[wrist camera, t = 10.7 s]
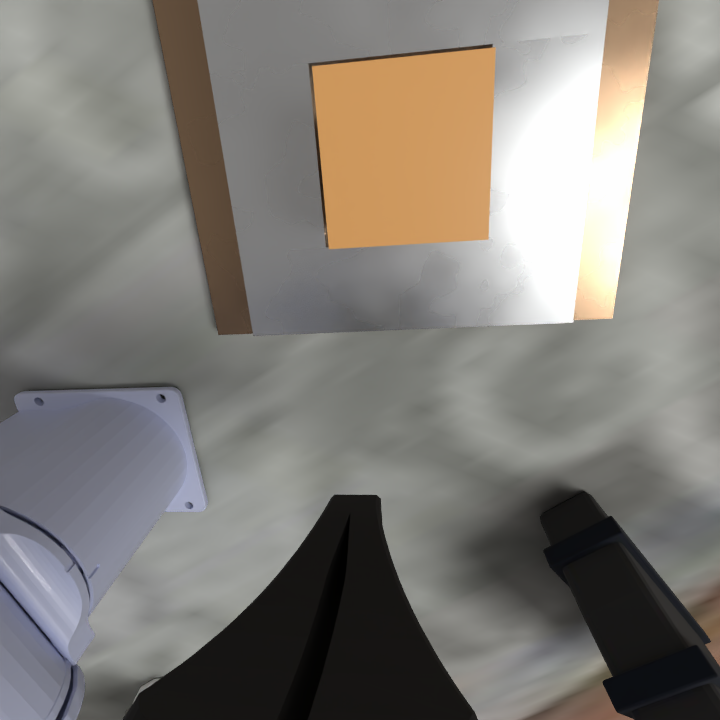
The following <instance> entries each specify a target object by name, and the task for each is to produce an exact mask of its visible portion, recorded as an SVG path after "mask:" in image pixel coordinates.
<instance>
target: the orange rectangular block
mask: <svg viewBox="0 0 720 720" xmlns="http://www.w3.org/2000/svg"><path fill="white" fill-rule="evenodd" d="M495 54H496V47H494V48H485V49H475V50H465V51H456V52H446V53H436V54H427V55H417V56H407V57H398V58H388V59H378V60H369V61H359V62H349V63H340V64H330V65H320V66H312V72H313V82H314V93H315V104H316V115H317V126H318V136H319V147H320V158H321V169H322V180H323V190H324V201H325V212H326V223H327V234H328V244H329V249H341V248H358V247H375V246H391V245H408V244H424V243H441V242H458V241H474V240H489V215H490V188H491V161H492V134H493V107H494V81H495Z"/></svg>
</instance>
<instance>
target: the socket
mask: <svg viewBox="0 0 720 720" xmlns="http://www.w3.org/2000/svg"><path fill="white" fill-rule="evenodd" d="M658 2H659V0H153V5H154V10H155V16H156V21H157V26H158V31H159V36H160V41H161V46H162V51H163V56H164V61H165V66H166V71H167V76H168V81H169V87H170V92H171V97H172V102H173V107H174V112H175V117H176V122H177V127H178V132H179V137H180V142H181V147H182V152H183V158H184V163H185V168H186V173H187V178H188V183H189V188H190V193H191V198H192V203H193V208H194V213H195V218H196V223H197V228H198V234H199V239H200V244H201V249H202V254H203V259H204V264H205V269H206V274H207V279H208V284H209V289H210V294H211V299H212V305H213V310H214V315H215V320H216V325H217V330H218V335H228V334H252V333H253V336H261V335H285V334H310V333H334V332H358V331H382V330H406V329H430V328H454V327H479V326H503V325H527V324H551V323H573V320H585V319H609V318H612V317H613V310H614V304H615V297H616V290H617V283H618V276H619V269H620V263H621V256H622V249H623V242H624V235H625V228H626V221H627V215H628V208H629V201H630V194H631V187H632V180H633V174H634V167H635V160H636V153H637V146H638V139H639V132H640V126H641V119H642V112H643V105H644V98H645V91H646V85H647V78H648V71H649V64H650V57H651V50H652V43H653V37H654V30H655V23H656V16H657V9H658ZM494 47H496V54H495V81H494V107H493V134H492V161H491V188H490V215H489V240H474V241H458V242H441V243H424V244H408V245H391V246H375V247H358V248H341V249H329V244H328V234H327V223H326V212H325V201H324V190H323V180H322V169H321V158H320V147H319V136H318V126H317V115H316V104H315V93H314V82H313V72H312V66H320V65H330V64H340V63H349V62H359V61H369V60H378V59H388V58H398V57H407V56H417V55H427V54H436V53H446V52H456V51H465V50H475V49H485V48H494Z"/></svg>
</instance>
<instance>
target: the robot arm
mask: <svg viewBox="0 0 720 720" xmlns="http://www.w3.org/2000/svg"><path fill="white" fill-rule="evenodd" d="M160 394H162V395H164V396H165V398H166V400H165V399H162V398H161V396H160ZM40 398H41V399H42V400H43V402H42V401H41V399H40ZM14 402H15V405H16V407H17V410H18V412H17V413H16V414H14V415H12V416H11V417H9V418H7V419H6V420H4V421H2V422H1V423H0V720H76V719H77V717H78V714H79V712H80V709H81V706H82V702H83V698H84V693H85V679H84V674H83V672H82V670H81V668H80V667H79V666H78V665H77V664H76V663H77V662H78V660H79V659H80V657H81V656H82V654H83V653H84V651H85V650H86V648H87V647H88V645H89V644H90V642H91V641H92V639H93V638H94V636H95V633H94V632H93V630H92V628H91V627H90V624H89V622H88V617H89V616H90V614H91V613H92V611H93V610H94V609H95V607H96V606H97V605H98V603H99V602H100V600H101V599H102V598H103V596H104V595H105V593H106V592H107V591H108V589H109V588H110V586H111V585H112V584H113V582H114V581H115V579H116V578H117V577H118V575H119V574H120V572H121V571H122V570H123V568H124V567H125V566H126V564H127V563H128V561H129V560H130V559H131V557H132V556H133V554H134V553H135V552H136V550H137V549H138V547H139V546H140V545H141V543H142V542H143V540H144V539H145V538H146V536H147V535H148V534H149V532H150V531H151V529H152V528H153V527H154V525H155V524H156V522H157V521H158V520H159V518H160V517H161V515H162V514H163V513H164V512H201V511H203V510H205V508H206V507H207V505H208V500H207V496H206V492H205V488H204V484H203V480H202V475H201V471H200V467H199V463H198V459H197V455H196V451H195V447H194V442H193V438H192V434H191V430H190V426H189V422H188V418H187V413H186V409H185V405H184V401H183V397H182V394H181V392H180V391H179V390H178V389H177V388H175V387H149V388H115V389H82V390H48V391H23V392H20V393H18V394H17V395H15V397H14ZM189 502H191V503H192V504H193V505H192V504H190V503H189ZM123 720H478V719H477V716H476V714H475V712H474V711H473V709H472V708H471V706H470V705H469V704H468V702H467V701H466V699H465V698H464V696H463V695H462V694H461V692H460V691H459V689H458V688H457V686H456V685H455V683H454V682H453V680H452V679H451V677H450V676H449V674H448V672H447V671H446V669H445V668H444V666H443V664H442V663H441V661H440V660H439V658H438V656H437V654H436V653H435V651H434V649H433V647H432V646H431V644H430V642H429V640H428V639H427V637H426V635H425V633H424V631H423V630H422V628H421V626H420V624H419V622H418V620H417V618H416V616H415V614H414V612H413V610H412V608H411V606H410V604H409V601H408V599H407V597H406V595H405V592H404V590H403V588H402V585H401V583H400V580H399V578H398V575H397V572H396V570H395V567H394V564H393V561H392V559H391V556H390V552H389V549H388V545H387V542H386V539H385V535H384V531H383V526H382V513H381V498H379V497H378V496H377V495H334V496H333V497H332V498H331V499H330V501H329V503H328V505H327V506H326V508H325V510H324V511H323V513H322V515H321V516H320V518H319V519H318V521H317V522H316V524H315V525H314V527H313V529H312V530H311V531H310V533H309V534H308V536H307V537H306V538H305V540H304V541H303V543H302V544H301V546H300V547H299V548H298V550H297V551H296V552H295V554H294V555H293V556H292V557H291V559H290V560H289V561H288V562H287V564H286V565H285V566H284V568H283V569H282V570H281V571H280V572H279V574H278V575H277V576H276V577H275V578H274V580H273V581H272V582H271V583H270V584H269V585H268V586H267V587H266V589H265V590H264V591H263V592H262V593H261V594H260V595H259V596H258V597H257V598H256V599H255V600H254V601H253V602H252V603H251V604H250V605H249V606H248V607H247V608H246V609H245V610H244V611H243V612H242V613H241V614H240V615H239V616H238V617H237V618H236V619H235V620H234V621H233V622H231V623H230V624H229V625H228V626H227V627H226V628H225V629H224V630H223V631H221V632H220V633H219V634H218V635H217V636H215V637H214V638H213V639H212V640H211V641H209V642H208V643H207V644H206V645H205V646H203V647H202V648H201V649H200V650H199V651H197V652H196V653H195V654H194V655H192V656H191V657H190V658H189V659H187V660H186V661H185V662H183V663H182V664H181V665H179V666H178V667H176V668H175V669H174V670H172V671H171V672H169V673H168V674H166V675H165V676H164V677H162V678H161V679H159V680H158V681H156V682H155V683H154V684H152V685H151V686H149V687H148V688H146V689H145V690H143V691H142V692H140V693H139V694H138V696H137V698H136V699H135V701H134V703H133V704H132V706H131V707H130V709H129V710H128V712H127V713H126V715H125V716H124V718H123Z"/></svg>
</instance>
